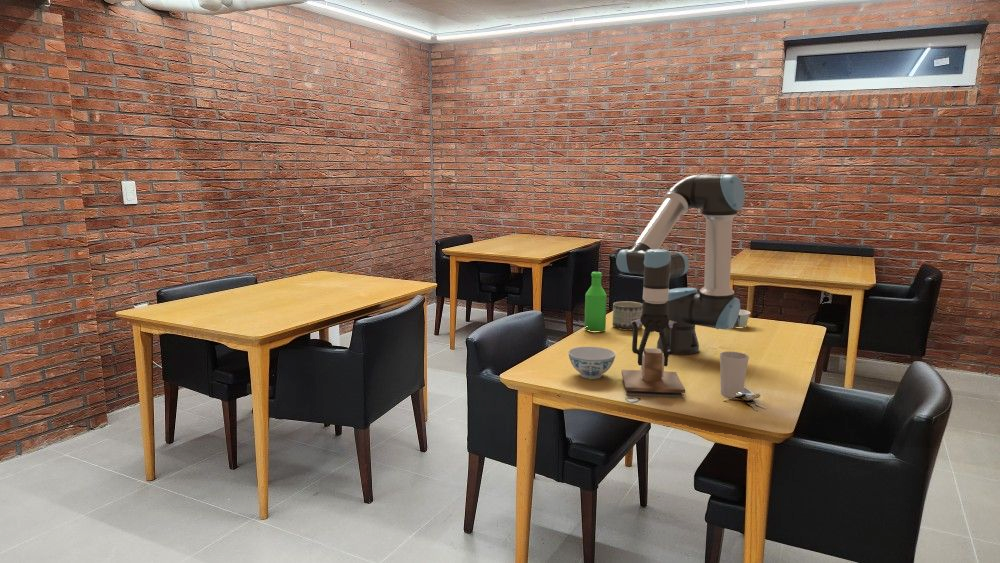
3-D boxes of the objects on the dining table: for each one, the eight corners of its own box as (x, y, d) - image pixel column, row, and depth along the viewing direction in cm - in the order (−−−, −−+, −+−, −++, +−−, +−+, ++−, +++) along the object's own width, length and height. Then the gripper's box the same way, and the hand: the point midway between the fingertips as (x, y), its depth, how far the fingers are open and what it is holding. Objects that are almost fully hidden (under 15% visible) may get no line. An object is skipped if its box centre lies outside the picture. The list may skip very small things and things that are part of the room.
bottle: (582, 332, 255) (583, 272, 251) (587, 327, 263) (588, 270, 259) (603, 334, 252) (604, 274, 248) (607, 329, 260) (609, 271, 256)
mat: (674, 380, 194) (674, 378, 194) (682, 397, 179) (682, 395, 178) (622, 377, 196) (622, 376, 196) (627, 395, 180) (627, 393, 180)
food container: (753, 329, 261) (755, 314, 260) (725, 329, 261) (726, 314, 260) (743, 322, 273) (744, 308, 272) (716, 322, 273) (717, 308, 272)
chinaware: (603, 386, 188) (604, 362, 187) (559, 377, 196) (560, 354, 195) (621, 373, 201) (622, 350, 199) (579, 366, 209) (580, 344, 207)
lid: (675, 374, 194) (677, 344, 193) (685, 393, 178) (686, 360, 176) (621, 372, 196) (622, 342, 195) (625, 390, 180) (626, 357, 178)
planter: (611, 324, 270) (612, 300, 268) (641, 325, 268) (642, 301, 267) (613, 331, 258) (613, 306, 256) (643, 332, 256) (644, 307, 254)
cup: (712, 389, 185) (715, 351, 183) (738, 389, 186) (740, 351, 184) (724, 399, 177) (727, 359, 175) (751, 398, 178) (754, 358, 176)
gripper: (684, 299, 186) (680, 373, 189) (623, 298, 188) (621, 370, 192) (688, 304, 178) (684, 381, 182) (625, 302, 180) (622, 378, 184)
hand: (652, 375), depth 187 cm, fingers closed on lid, 5 cm apart
